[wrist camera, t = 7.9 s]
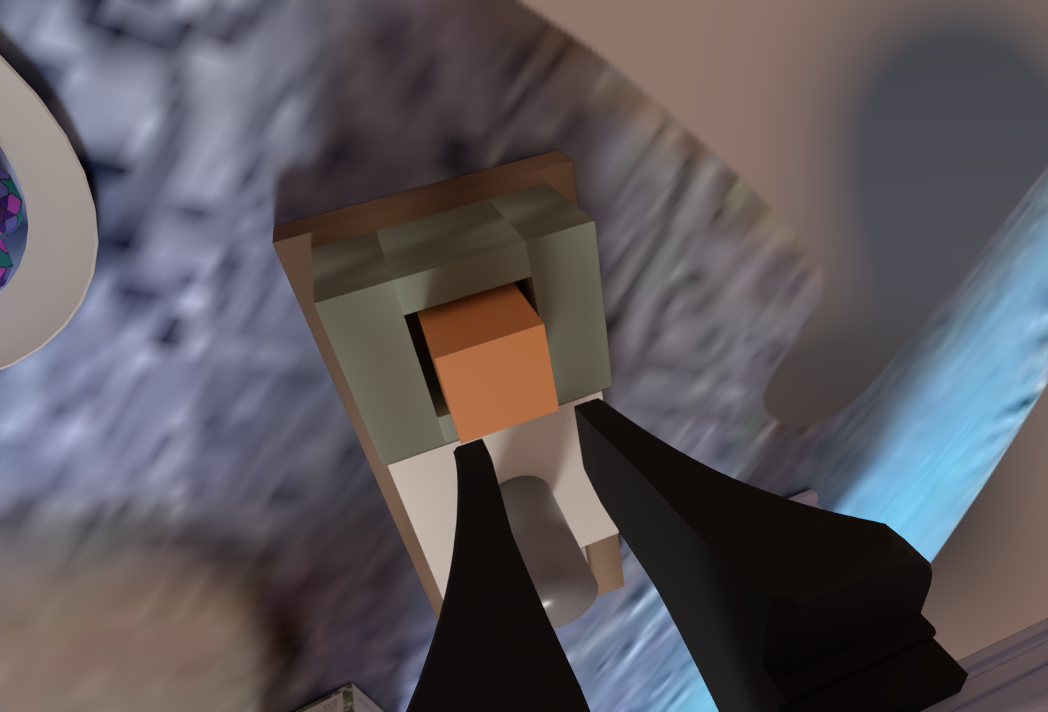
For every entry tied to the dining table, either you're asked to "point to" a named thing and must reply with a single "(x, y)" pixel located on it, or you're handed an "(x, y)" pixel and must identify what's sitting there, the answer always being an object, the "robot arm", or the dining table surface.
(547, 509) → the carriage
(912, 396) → the dining table surface
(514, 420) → the button
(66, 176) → the checkered hat
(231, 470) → the dining table surface
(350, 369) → the wooden base with block
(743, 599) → the robot arm
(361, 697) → the syrup box
